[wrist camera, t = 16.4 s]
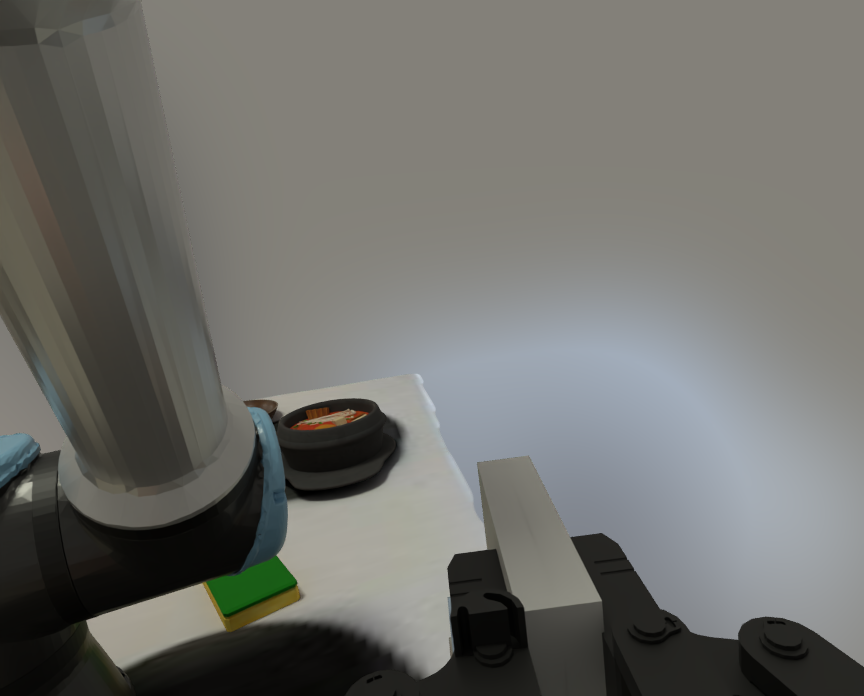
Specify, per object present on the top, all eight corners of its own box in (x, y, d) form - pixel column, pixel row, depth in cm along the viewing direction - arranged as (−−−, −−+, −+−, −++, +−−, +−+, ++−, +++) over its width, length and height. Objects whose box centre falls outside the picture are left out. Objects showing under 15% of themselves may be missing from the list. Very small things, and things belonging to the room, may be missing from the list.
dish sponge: (228, 637, 53) (223, 614, 53) (196, 573, 65) (192, 553, 64) (302, 603, 57) (297, 581, 57) (259, 547, 69) (255, 529, 68)
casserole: (280, 448, 100) (271, 401, 98) (387, 428, 103) (380, 382, 101) (269, 514, 76) (257, 454, 74) (409, 486, 79) (401, 427, 77)
